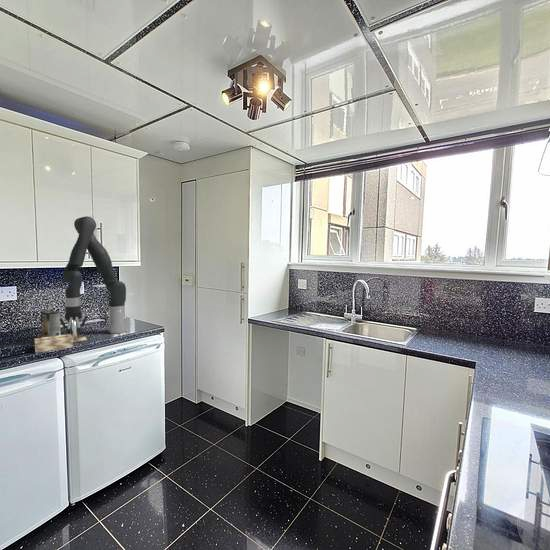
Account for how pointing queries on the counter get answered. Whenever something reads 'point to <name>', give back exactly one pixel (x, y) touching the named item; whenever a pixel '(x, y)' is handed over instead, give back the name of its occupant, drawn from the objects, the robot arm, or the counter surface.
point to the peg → (74, 329)
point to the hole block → (53, 343)
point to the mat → (80, 339)
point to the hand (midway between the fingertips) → (74, 334)
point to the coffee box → (50, 323)
